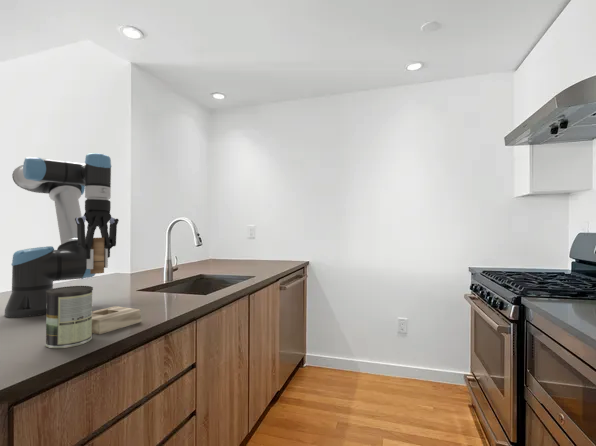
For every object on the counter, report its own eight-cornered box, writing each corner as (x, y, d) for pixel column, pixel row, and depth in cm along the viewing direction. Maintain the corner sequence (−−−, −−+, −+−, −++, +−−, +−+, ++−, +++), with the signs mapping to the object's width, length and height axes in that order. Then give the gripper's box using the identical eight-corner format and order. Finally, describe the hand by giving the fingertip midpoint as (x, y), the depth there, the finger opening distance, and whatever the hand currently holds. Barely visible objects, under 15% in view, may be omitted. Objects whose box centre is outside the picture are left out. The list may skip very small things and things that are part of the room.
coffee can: (35, 349, 83) (36, 292, 83) (61, 336, 93) (61, 285, 93) (78, 348, 84) (79, 292, 84) (99, 335, 94) (100, 285, 94)
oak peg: (87, 273, 112) (88, 237, 112) (100, 272, 116) (100, 237, 116) (94, 274, 110) (94, 237, 110) (106, 272, 113) (107, 237, 114)
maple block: (72, 329, 99) (72, 315, 100) (115, 317, 112) (115, 306, 112) (99, 334, 95) (99, 320, 95) (140, 322, 107) (140, 309, 107)
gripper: (76, 196, 104) (75, 271, 104) (128, 200, 119) (127, 266, 118) (64, 198, 108) (63, 270, 107) (116, 202, 123) (115, 265, 122)
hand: (97, 268), depth 113 cm, fingers closed on oak peg, 4 cm apart
